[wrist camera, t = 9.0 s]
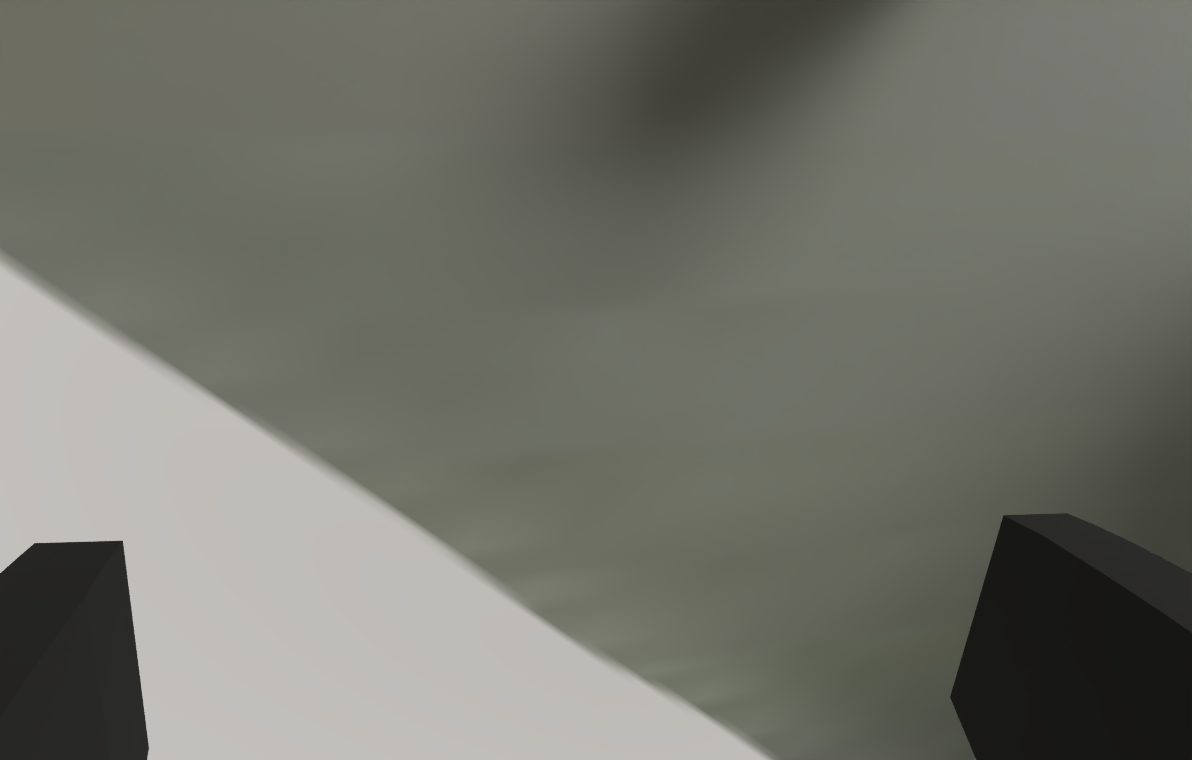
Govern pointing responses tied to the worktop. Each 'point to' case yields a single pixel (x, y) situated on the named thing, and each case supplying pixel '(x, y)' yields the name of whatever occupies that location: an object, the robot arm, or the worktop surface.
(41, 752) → the robot arm
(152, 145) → the worktop surface
